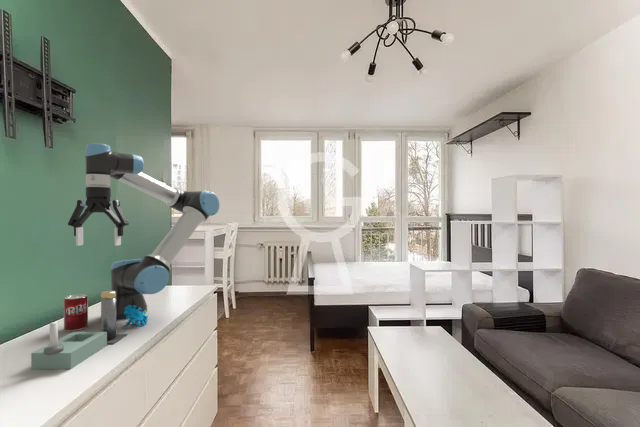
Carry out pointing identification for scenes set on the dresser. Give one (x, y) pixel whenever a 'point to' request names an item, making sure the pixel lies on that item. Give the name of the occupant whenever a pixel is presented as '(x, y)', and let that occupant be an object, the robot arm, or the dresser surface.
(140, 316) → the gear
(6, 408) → the dresser surface
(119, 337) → the mat
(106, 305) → the silver tall can
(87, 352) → the fixture block
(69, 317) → the soda can
